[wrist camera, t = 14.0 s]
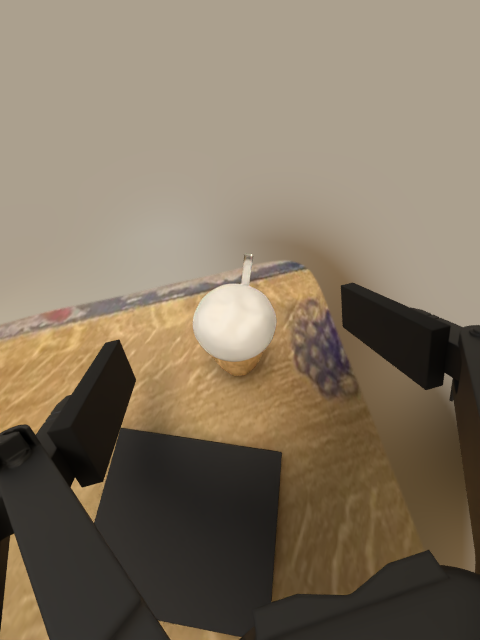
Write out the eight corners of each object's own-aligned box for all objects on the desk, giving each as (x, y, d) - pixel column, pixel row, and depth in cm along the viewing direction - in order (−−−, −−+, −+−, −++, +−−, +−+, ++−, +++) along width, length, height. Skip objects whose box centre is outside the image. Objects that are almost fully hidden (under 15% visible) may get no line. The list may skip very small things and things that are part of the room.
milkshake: (273, 329, 23) (292, 263, 14) (258, 391, 21) (267, 362, 12) (223, 316, 24) (208, 244, 14) (203, 376, 22) (172, 336, 13)
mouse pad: (281, 451, 20) (282, 452, 19) (267, 638, 16) (268, 643, 16) (122, 427, 20) (120, 427, 20) (75, 599, 17) (71, 603, 16)
